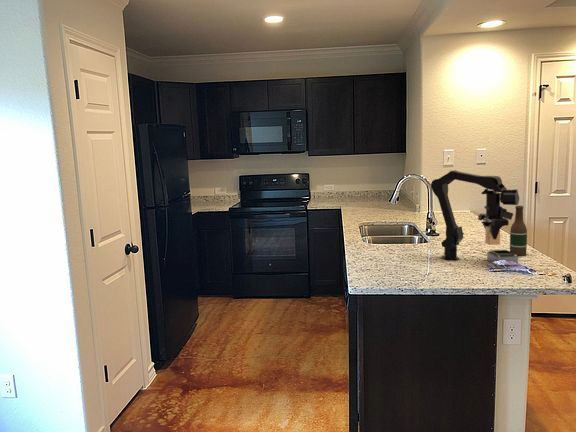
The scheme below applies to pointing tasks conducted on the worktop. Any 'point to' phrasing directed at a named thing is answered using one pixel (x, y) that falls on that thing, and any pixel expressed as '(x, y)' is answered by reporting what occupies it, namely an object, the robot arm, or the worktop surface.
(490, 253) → the drawer cabinet
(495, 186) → the robot arm
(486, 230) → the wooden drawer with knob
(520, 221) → the beer bottle
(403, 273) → the worktop surface
